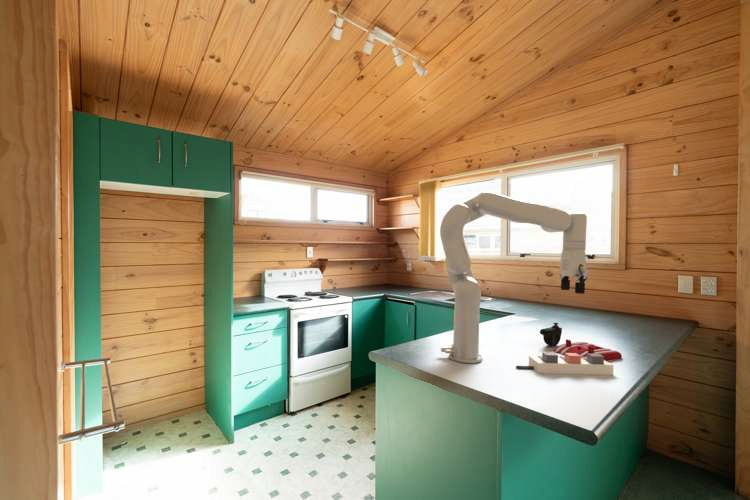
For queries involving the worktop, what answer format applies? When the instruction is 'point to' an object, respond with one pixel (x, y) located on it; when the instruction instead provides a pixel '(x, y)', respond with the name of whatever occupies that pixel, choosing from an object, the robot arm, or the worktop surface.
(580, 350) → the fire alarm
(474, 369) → the worktop surface
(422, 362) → the worktop surface
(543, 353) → the button
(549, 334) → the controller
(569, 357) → the button
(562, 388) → the worktop surface
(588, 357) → the button
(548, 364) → the button panel
